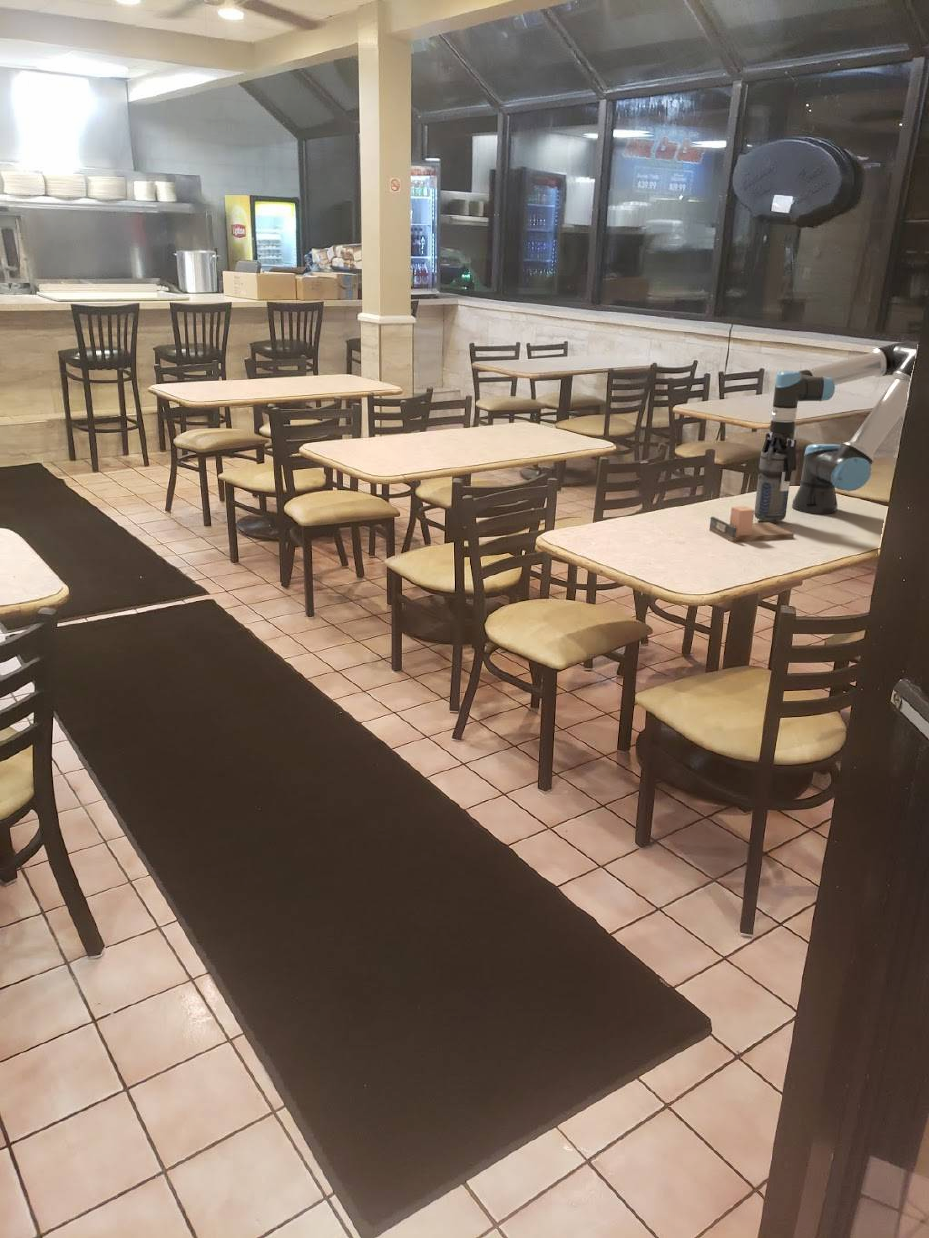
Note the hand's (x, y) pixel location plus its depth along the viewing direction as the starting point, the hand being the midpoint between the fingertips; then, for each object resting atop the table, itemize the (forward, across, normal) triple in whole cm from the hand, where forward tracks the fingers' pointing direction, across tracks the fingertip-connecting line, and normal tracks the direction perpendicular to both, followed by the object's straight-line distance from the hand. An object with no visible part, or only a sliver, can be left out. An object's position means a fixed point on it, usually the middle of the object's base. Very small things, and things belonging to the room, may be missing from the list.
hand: (774, 487), depth 318 cm
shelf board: (+12, +13, -15) cm, 23 cm away
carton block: (+10, +16, -21) cm, 29 cm away
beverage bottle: (+11, 0, 0) cm, 11 cm away
